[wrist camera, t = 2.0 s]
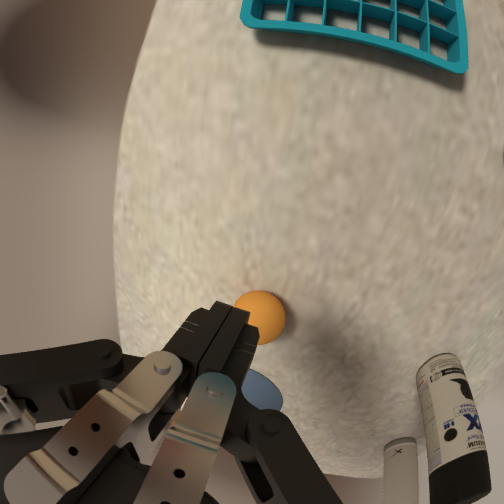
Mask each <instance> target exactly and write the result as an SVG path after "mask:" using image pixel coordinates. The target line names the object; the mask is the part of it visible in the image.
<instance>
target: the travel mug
mask: <svg viewBox="0 0 504 504" xmlns="http://www.w3.org/2000/svg"><path fill="white" fill-rule="evenodd" d="M418 486H419V484H418V460H417V448H416V440H415V439H413V438H401V439H397V440H394V441H392V442H390V443H389V444H387V445H386V446H385V448H384V483H383V498H382V504H418V503H419V498H418V497H419V489H418V488H419V487H418Z"/></svg>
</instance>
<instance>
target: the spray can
mask: <svg viewBox="0 0 504 504" xmlns="http://www.w3.org/2000/svg"><path fill="white" fill-rule="evenodd" d="M417 387H418V392H419V398H420V403H421V409H422V415H423V422H424V429H425V438H426V447H427V458H428V471H429V472H428V473H429V490H430V491H429V492H430V504H471V503H473V502H475V501H478V500H479V499H481V498H483V497H485V496H486V495H487V494H489V493H490V491H491V479H490V471H489V463H488V456H487V450H486V445H485V441H484V436H483V432H482V428H481V424H480V420H479V417H478V413H477V410H476V406H475V403H474V400H473V396H472V393H471V390H470V387H469V384H468V381H467V379H466V376H465V373H464V370H463V368H462V365H461V362H460V360H459V359H458V358H457V357H456V356H455V355H453V354H450V353H449V354H448V353H443V354H440V355H437V356H434V357H432V358H430V359H429V360H428V361H427V362H425V363H424V364H423V365H422V366H421V368H420V369H419V371H418V373H417Z"/></svg>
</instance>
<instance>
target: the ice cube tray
mask: <svg viewBox="0 0 504 504" xmlns="http://www.w3.org/2000/svg"><path fill="white" fill-rule="evenodd" d="M442 1H443V2H444V5H441V4H439V3H437V2H434V1H432V0H390V9H388V8H384V7H380V6H377V5H373V4H369V3H364V2H362V0H359V1H355V0H243V2H242V7H241V12H240V19H241V21H242V22H243V24H244V25H245V26H247V27H249V28H254V29H265V30H268V31H281V32H293V33H303V34H311V35H319V36H325V37H332V38H337V39H343V40H348V41H352V42H357V43H361V44H365V45H370V46H373V47H377V48H381V49H384V50H388V51H391V52H395V53H398V54H401V55H404V56H407V57H410V58H413V59H415V60H418V61H421V62H423V63H426V64H429V65H431V66H434V67H436V68H441V69H445V70H448V71H450V72H452V73H454V74H464V73H465V72H466V71H467V69H468V43H467V31H466V21H465V14H464V7H463V1H462V0H442ZM397 2H399V3H402V4H405V5H408V6H411V7H414V8H416V9H419V19H418V18H416V17H413V16H410V15H407V14H404V13H401V12H398V11H397ZM264 4H284V5H287V9H286V16H285V21H277V20H261V17H262V11H263V5H264ZM295 5H298V6H309V7H318V8H323V16H322V25H320V24H312V23H303V22H293V16H294V9H295ZM327 9H332V10H338V11H344V12H349V13H354V14H358V22H357V31H354V30H349V29H344V28H338V27H333V26H326V18H327ZM429 13H430V14H432V15H434V16H437V17H439V18H441V19H444V20H446V30H445V29H443V28H441V27H438V26H436V25H434V24H431V23H429ZM362 15H363V16H367V17H371V18H375V19H379V20H383V21H386V22H390V26H389V39H386V38H382V37H379V36H375V35H371V34H367V33H363V32H361V19H362ZM397 25H400V26H403V27H406V28H409V29H411V30H414V31H417V32H420V50H419V49H417V48H414V47H411V46H408V45H405V44H402V43H399V42H396V40H397ZM430 37H433V38H435V39H437V40H440V41H442V42H444V43H446V44H447V61H446V60H444V59H442V58H439V57H437V56H435V55H432V54H430Z"/></svg>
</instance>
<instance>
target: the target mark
mask: <svg viewBox="0 0 504 504" xmlns="http://www.w3.org/2000/svg"><path fill="white" fill-rule="evenodd" d="M241 390H242V393H243V395H244V397H245V398H246V400H247V401H248V402H250V403H251V404H252V405H254V406H255V407H257V408H258V409H260V410H262V409H274V410H278V411H279V410H280V409H281V407H282V396H281V393H280V391H279V390H278V388H277V387H276V386H275V385H274V384H273V383H272V382H271V381H270V380H269V379H267V378H266V377H265V376H263V375H261V374H260V373H258V372H256V371H254V370H252V369H249V370H248V373H247V375H246V378H245V380H244V383H243V385H242V388H241Z"/></svg>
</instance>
